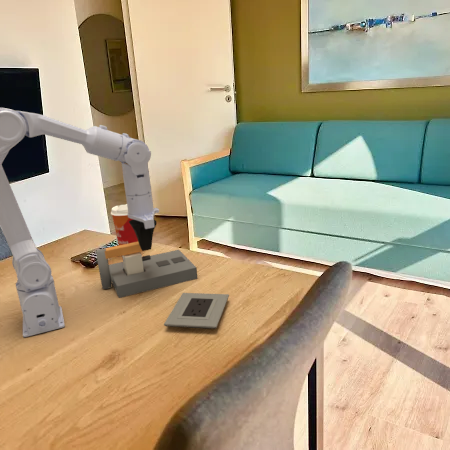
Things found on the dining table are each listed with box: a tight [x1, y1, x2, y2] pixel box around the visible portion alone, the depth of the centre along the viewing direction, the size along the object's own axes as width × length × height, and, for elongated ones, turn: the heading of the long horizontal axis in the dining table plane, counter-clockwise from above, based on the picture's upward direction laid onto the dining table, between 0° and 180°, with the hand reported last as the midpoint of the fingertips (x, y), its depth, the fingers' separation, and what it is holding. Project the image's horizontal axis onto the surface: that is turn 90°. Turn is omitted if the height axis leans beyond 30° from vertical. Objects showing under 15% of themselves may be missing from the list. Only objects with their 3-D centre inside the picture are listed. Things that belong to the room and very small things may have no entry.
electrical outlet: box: [163, 292, 230, 330], centre depth 91 cm, size 13×10×2 cm
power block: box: [109, 249, 199, 299], centre depth 111 cm, size 14×20×3 cm
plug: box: [121, 252, 151, 276], centre depth 109 cm, size 4×6×8 cm, turn 114°
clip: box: [95, 242, 143, 290], centre depth 107 cm, size 12×2×10 cm, turn 114°
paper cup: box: [110, 203, 138, 246], centre depth 126 cm, size 8×8×14 cm
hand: (146, 249), depth 102 cm, fingers closed
